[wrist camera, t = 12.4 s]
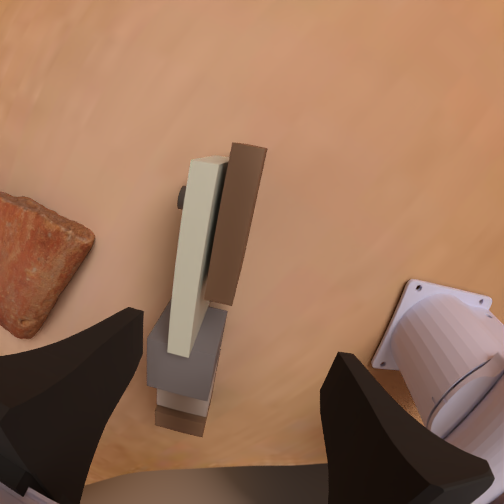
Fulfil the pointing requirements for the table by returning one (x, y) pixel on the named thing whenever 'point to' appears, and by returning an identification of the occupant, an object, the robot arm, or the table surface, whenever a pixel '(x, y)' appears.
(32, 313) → the ceramic shard
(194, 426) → the door frame
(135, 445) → the table surface
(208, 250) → the cream bar
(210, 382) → the grey block
